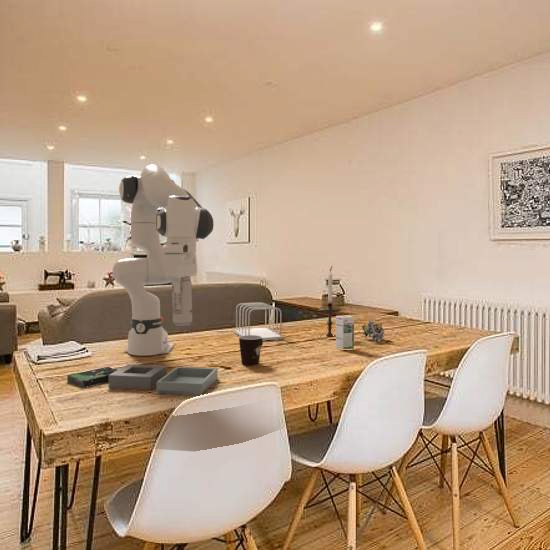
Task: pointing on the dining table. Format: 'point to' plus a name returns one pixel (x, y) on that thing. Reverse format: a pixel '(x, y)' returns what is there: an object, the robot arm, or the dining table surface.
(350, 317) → the syrup box
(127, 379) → the socket block
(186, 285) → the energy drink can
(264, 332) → the file sorter
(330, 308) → the candlestick
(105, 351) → the dining table surface
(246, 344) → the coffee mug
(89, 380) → the disk drive
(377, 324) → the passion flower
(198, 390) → the parts tray
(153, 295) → the robot arm
